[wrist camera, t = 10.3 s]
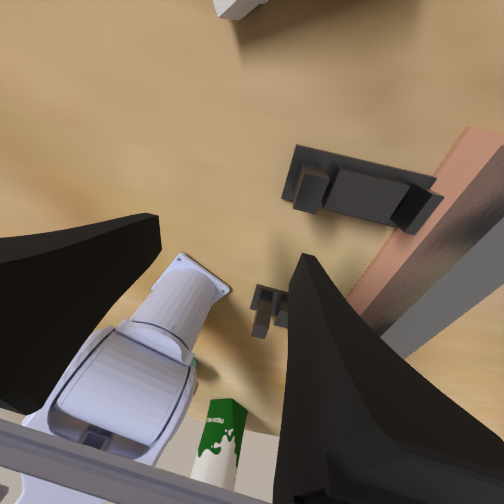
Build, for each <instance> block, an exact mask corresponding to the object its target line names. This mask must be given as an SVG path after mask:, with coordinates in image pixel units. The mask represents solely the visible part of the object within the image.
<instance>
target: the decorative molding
mask: <svg viewBox="0 0 504 504" xmlns="http://www.w3.org/2000/svg"><path fill="white" fill-rule="evenodd" d="M267 1H269V0H213V3H214V6H215V9H216V12H217V15H218V18H223V19H230V20H236V21H239V20H241V19H242V18H244V17H245V16H246V15H247V14H248V13H249V12H251V11H252V10H253V9H254V8H255V7H256V6H258V5H259V4H264V3H266V2H267Z"/></svg>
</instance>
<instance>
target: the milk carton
mask: <svg viewBox="0 0 504 504" xmlns="http://www.w3.org/2000/svg"><path fill="white" fill-rule="evenodd" d="M247 412H248V411H247V410H245V409H244V408H243V407H242V406H240V405H239V404H238V403H237V402H235V401H234V400H233V399H220V400H211V401H210V406H209V410H208V415H207V419H206V424H205V428H204V431H203V434H202V438H201V442H200V445H199V448H198V452H197V455H196V459H195V462H194V465H193V469H192V472H191V475H190V478H191V479H195V480H198V481H201V482H204V483H208V484H211V485H214V486H217V487H220V488H224V489H227V490H230V491H233V492H234V486H235V480H236V474H237V467H238V462H239V456H240V450H241V444H242V437H243V432H244V427H245V422H246V417H247Z"/></svg>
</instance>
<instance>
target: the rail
mask: <svg viewBox="0 0 504 504" xmlns="http://www.w3.org/2000/svg"><path fill="white" fill-rule="evenodd" d="M503 284H504V145H501V146H500V148H499V149H498V150H497V151H496V152H495V154H494V155H493V156H492V157H491V158H490V160H489V161H488V162H487V163H486V164H485V166H484V167H483V168H482V169H481V170H480V172H479V173H478V174H477V175H476V177H475V178H474V179H473V180H472V181H471V183H470V184H469V185H468V186H467V187H466V189H465V190H464V191H463V192H462V193H461V195H460V196H459V197H458V198H457V199H456V201H455V202H454V203H453V204H452V206H451V207H450V208H449V209H448V210H447V212H446V213H445V214H444V215H443V216H442V218H441V219H440V220H439V221H438V222H437V224H436V225H435V226H434V227H433V228H432V230H431V231H430V232H429V233H428V235H427V236H426V237H425V238H424V239H423V241H422V242H421V243H420V244H419V245H418V247H417V248H416V249H415V250H414V251H413V253H412V254H411V255H410V256H409V257H408V259H407V260H406V261H405V262H404V264H403V265H402V266H401V267H400V268H399V270H398V271H397V272H396V273H395V274H394V276H393V277H392V278H391V279H390V280H389V282H388V283H387V284H386V285H385V287H384V288H383V289H382V290H381V291H380V293H379V294H378V295H377V296H376V297H375V299H374V300H373V301H372V302H371V303H370V305H369V306H368V307H367V308H366V309H365V311H364V312H363V313H362V314H361V316H360V317H361V318H362V319H363V320H364V321H365V322H366V323H367V324H368V325H369V327H370V328H371V329H372V330H373V331H374V332H375V333H376V334H377V335H378V336H379V337H380V338H381V339H382V340H383V341H384V342H385V343H386V344H387V345H389V346H390V347H391V348H392V349H393V350H394V351H395V352H396V353H397V354H398V355H399V356H400V357H401V358H402V359H405V358H406V357H408V356H409V355H410V354H412V353H413V352H414V351H416V350H417V349H418V348H420V347H421V346H422V345H424V344H425V343H426V342H428V341H429V340H430V339H432V338H433V337H434V336H435V335H437V334H438V333H439V332H441V331H442V330H443V329H445V328H446V327H447V326H449V325H450V324H451V323H453V322H454V321H455V320H457V319H458V318H459V317H461V316H462V315H463V314H465V313H466V312H467V311H468V310H470V309H471V308H472V307H474V306H475V305H476V304H478V303H479V302H480V301H482V300H483V299H484V298H486V297H487V296H488V295H490V294H491V293H492V292H494V291H495V290H496V289H497V288H499V287H500V286H501V285H503Z"/></svg>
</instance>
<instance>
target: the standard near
mask: <svg viewBox="0 0 504 504" xmlns="http://www.w3.org/2000/svg"><path fill="white" fill-rule="evenodd" d="M436 180H437V178H436V177H433V176H429V175H425V174H421V173H416V172H412V171H408V170H404V169H399V168H395V167H391V166H387V165H382V164H378V163H374V162H370V161H365V160H361V159H357V158H353V157H348V156H344V155H340V154H336V153H331V152H327V151H323V150H319V149H314V148H310V147H306V146H301V145H297V144H296V147H295V151H294V154H293V158H292V162H291V165H290V169H289V172H288V176H287V179H286V183H285V186H284V190H283V193H282V197H281V199H285V200H289V201H293V209H296V210H300V211H304V212H308V213H312V214H316V212H317V210H318V208H321V209H325V210H329V211H333V212H337V213H341V214H345V215H350V216H354V217H358V218H362V219H366V220H370V221H374V222H378V223H382V224H386V225H390V226H394V227H398V228H400V229H401V230H402V231H403V232H404V233H406V234H410V235H414V236H415V235H416V234H417V232H418V231H419V230H420V228H421V227H422V226H423V225H424V223H425V222H426V221H427V220H428V218H429V217H430V216H431V214H432V213H433V212H434V211H435V209H436V208H437V207H438V206H439V204H440V203H441V202H442V200H443V199H444V198H445V197H444V196H442V195H440V194H438V193H436V192H434V191H432V190H430V188H431V187H432V185H433V184H434V183H435V181H436Z"/></svg>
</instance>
